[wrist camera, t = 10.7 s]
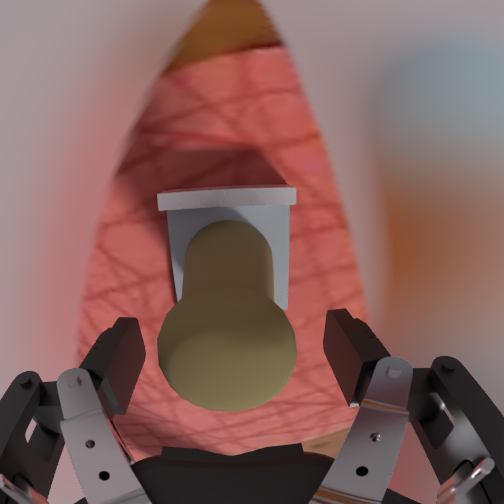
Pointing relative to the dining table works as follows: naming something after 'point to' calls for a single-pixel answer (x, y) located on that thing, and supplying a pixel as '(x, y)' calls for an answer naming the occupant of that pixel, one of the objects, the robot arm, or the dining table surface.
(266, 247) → the cork
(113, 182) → the dining table surface
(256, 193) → the rail
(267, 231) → the slate shelf board
